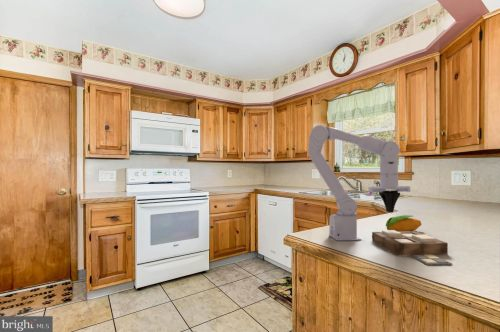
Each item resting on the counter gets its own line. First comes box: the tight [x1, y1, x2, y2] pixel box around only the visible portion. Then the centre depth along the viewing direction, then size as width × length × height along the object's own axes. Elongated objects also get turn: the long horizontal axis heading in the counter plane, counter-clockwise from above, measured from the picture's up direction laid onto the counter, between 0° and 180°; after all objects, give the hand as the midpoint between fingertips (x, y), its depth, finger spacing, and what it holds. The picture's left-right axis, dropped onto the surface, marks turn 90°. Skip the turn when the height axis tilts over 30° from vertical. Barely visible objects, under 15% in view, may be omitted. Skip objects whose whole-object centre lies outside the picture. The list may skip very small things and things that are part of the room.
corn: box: [385, 214, 422, 232], centre depth 102 cm, size 7×8×20 cm
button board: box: [371, 230, 449, 256], centre depth 84 cm, size 16×14×4 cm
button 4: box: [412, 234, 436, 242], centre depth 81 cm, size 4×4×2 cm
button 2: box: [395, 239, 412, 243], centre depth 80 cm, size 4×4×2 cm
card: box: [409, 255, 453, 267], centre depth 72 cm, size 7×7×1 cm
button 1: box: [381, 229, 402, 237], centre depth 87 cm, size 4×4×2 cm
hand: (389, 211), depth 92 cm, fingers closed
